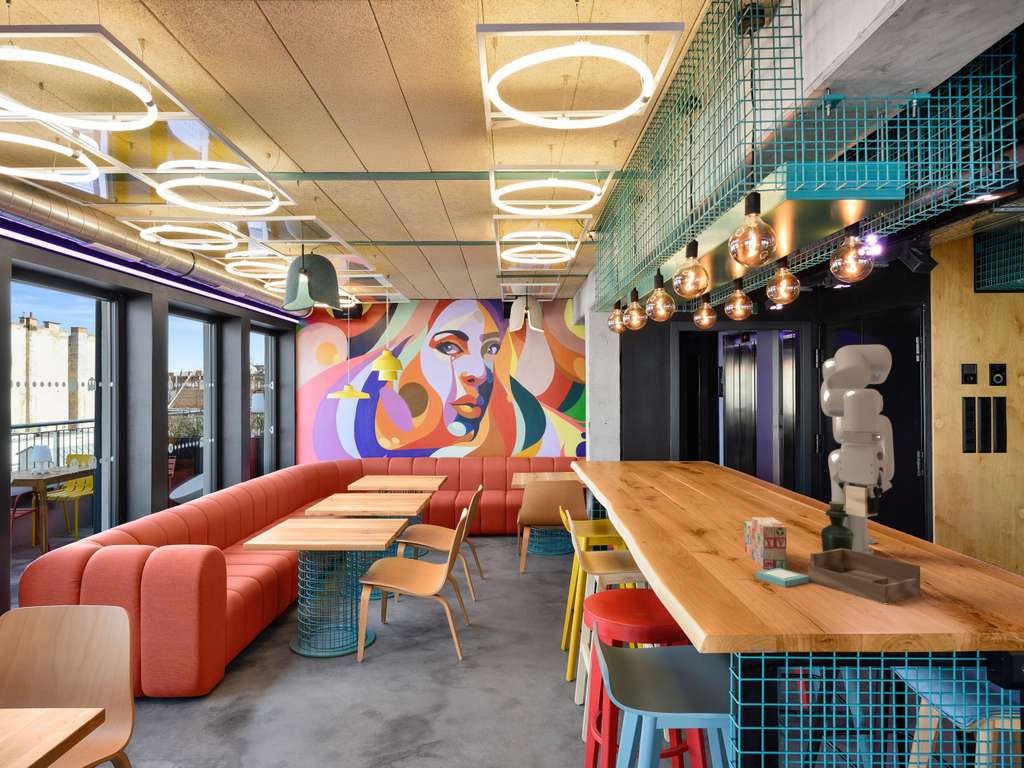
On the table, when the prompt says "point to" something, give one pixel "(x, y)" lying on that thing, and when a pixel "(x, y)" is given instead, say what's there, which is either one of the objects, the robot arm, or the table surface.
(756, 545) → the stack of blocks
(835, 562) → the brown wooden tray
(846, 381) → the robot arm
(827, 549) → the potion bottle
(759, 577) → the teal picture frame
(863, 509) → the beech block
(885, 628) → the table surface
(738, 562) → the table surface
